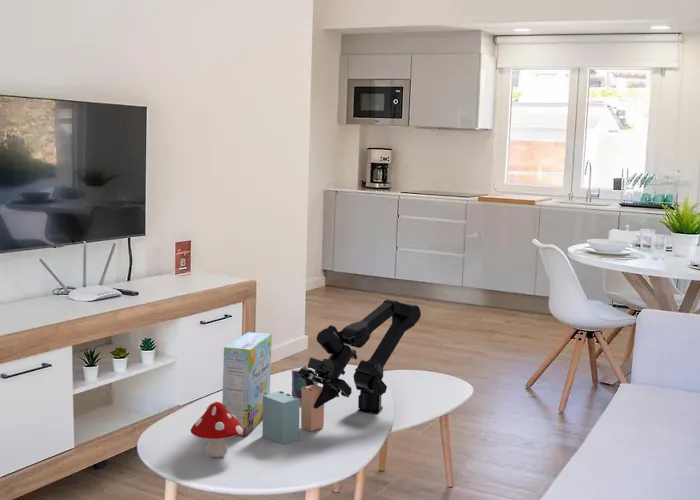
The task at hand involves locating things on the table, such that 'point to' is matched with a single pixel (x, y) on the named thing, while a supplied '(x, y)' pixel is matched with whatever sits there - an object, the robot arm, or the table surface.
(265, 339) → the snack box
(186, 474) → the table surface
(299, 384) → the flask
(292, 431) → the teal block
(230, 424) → the decorative mushroom
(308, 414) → the stub
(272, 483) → the table surface
